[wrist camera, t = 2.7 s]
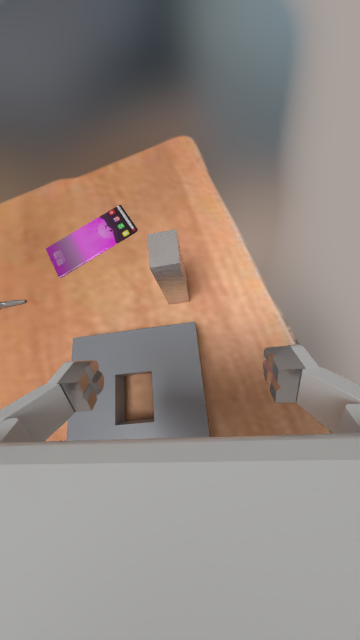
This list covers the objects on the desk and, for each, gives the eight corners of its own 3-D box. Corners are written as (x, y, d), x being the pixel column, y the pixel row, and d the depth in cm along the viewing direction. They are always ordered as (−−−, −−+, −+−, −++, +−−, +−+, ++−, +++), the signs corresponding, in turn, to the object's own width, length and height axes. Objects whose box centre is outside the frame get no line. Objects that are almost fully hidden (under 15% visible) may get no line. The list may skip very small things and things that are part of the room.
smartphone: (139, 234, 35) (138, 230, 35) (61, 279, 34) (57, 277, 34) (121, 207, 38) (119, 203, 37) (47, 249, 37) (44, 246, 36)
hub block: (213, 464, 24) (213, 475, 21) (80, 472, 25) (63, 483, 22) (196, 328, 28) (194, 321, 26) (86, 342, 30) (73, 338, 27)
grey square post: (189, 301, 30) (179, 262, 20) (169, 304, 30) (149, 267, 21) (186, 275, 31) (175, 228, 22) (166, 279, 31) (147, 233, 22)
